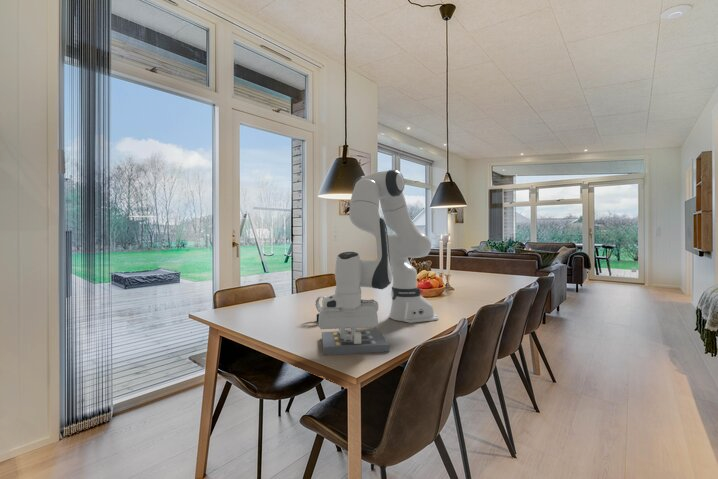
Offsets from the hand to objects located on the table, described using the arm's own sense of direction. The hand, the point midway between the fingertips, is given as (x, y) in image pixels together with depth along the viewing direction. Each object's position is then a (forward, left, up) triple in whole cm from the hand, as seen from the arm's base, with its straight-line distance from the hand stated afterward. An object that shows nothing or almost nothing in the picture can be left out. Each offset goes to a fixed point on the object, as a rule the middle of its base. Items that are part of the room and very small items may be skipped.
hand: (348, 340), depth 121 cm
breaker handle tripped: (-3, 0, -1) cm, 3 cm away
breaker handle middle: (+1, -5, -1) cm, 5 cm away
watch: (+7, -39, -4) cm, 40 cm away
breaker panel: (-3, -5, -3) cm, 7 cm away
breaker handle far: (+1, -11, -1) cm, 11 cm away
